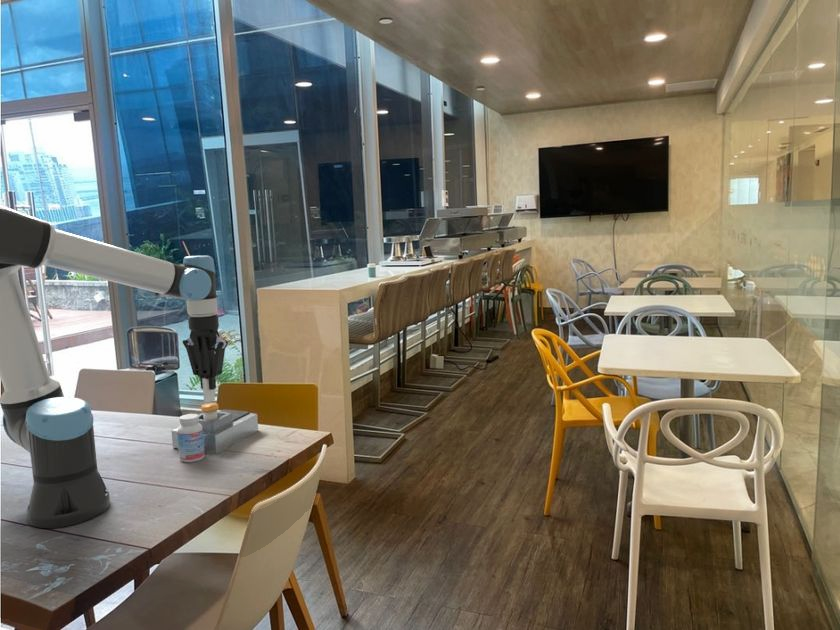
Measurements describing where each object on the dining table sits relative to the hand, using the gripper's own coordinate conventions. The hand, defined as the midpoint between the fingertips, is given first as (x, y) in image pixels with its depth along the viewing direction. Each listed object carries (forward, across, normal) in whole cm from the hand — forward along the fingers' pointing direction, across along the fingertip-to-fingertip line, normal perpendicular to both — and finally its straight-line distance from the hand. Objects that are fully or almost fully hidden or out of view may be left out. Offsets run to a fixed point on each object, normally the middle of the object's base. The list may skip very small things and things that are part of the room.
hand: (209, 400), depth 166 cm
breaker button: (+9, 0, 0) cm, 9 cm away
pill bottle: (+13, -2, +10) cm, 16 cm away
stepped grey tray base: (+12, +2, -4) cm, 13 cm away
